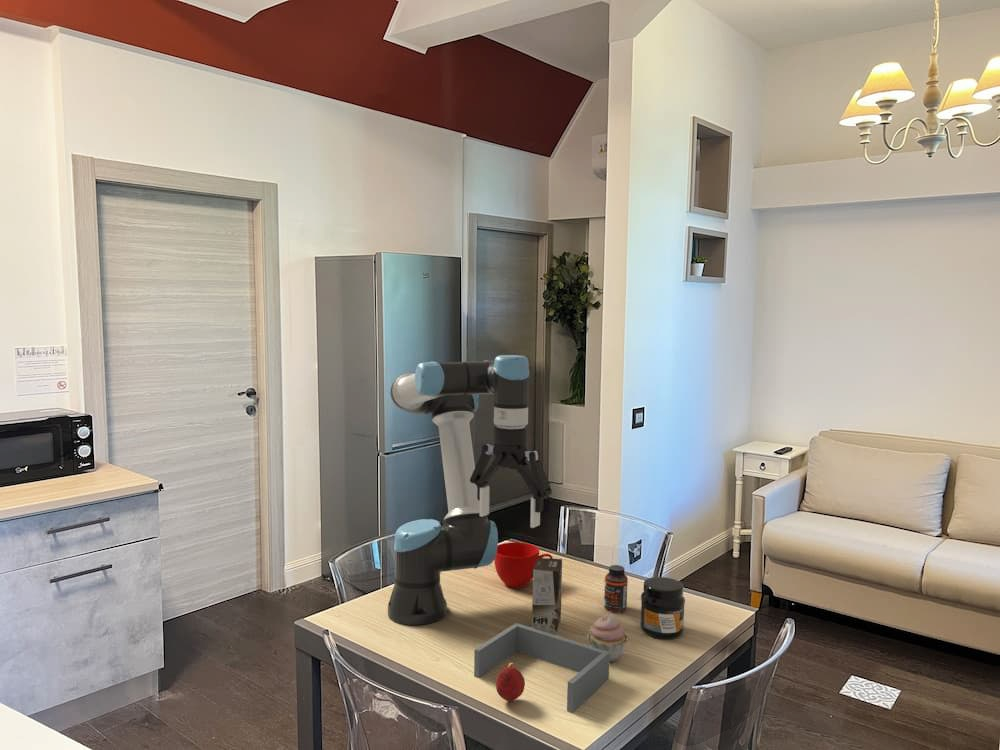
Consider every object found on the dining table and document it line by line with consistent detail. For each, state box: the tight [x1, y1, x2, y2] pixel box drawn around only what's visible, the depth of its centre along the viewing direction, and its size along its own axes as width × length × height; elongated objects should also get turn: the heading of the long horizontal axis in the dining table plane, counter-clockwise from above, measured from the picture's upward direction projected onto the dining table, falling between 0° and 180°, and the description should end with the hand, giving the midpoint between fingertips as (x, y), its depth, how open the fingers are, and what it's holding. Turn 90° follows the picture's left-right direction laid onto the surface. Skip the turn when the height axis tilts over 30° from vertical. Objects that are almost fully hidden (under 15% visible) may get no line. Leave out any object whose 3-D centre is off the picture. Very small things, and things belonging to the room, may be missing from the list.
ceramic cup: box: [493, 541, 554, 589], centre depth 209 cm, size 13×17×10 cm
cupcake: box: [586, 613, 629, 663], centre depth 166 cm, size 9×9×10 cm
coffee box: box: [531, 557, 563, 636], centre depth 181 cm, size 9×6×16 cm
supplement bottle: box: [603, 564, 629, 614], centre depth 192 cm, size 6×6×11 cm
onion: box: [495, 662, 526, 703], centre depth 147 cm, size 6×6×8 cm
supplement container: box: [639, 576, 686, 640], centre depth 180 cm, size 10×10×12 cm
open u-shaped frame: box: [473, 622, 610, 714], centre depth 156 cm, size 24×16×6 cm, turn 55°
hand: (509, 520), depth 162 cm, fingers open, 13 cm apart
